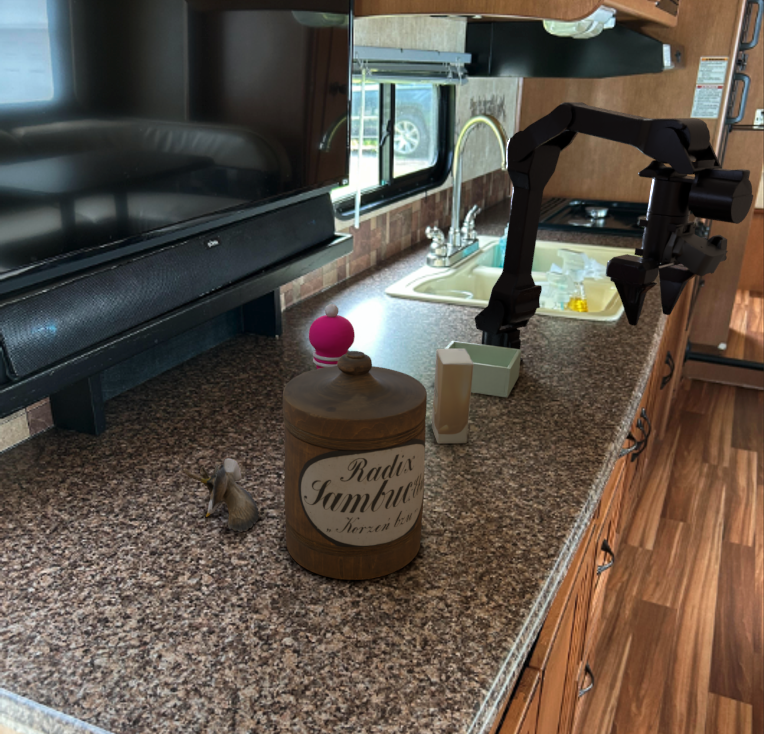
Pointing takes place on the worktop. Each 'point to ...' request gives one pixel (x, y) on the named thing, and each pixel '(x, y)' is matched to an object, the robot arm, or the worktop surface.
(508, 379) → the bin
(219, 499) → the eagle figurine
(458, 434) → the cosmetic box
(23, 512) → the worktop surface
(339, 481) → the wooden container
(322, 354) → the pepper mill
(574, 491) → the worktop surface
